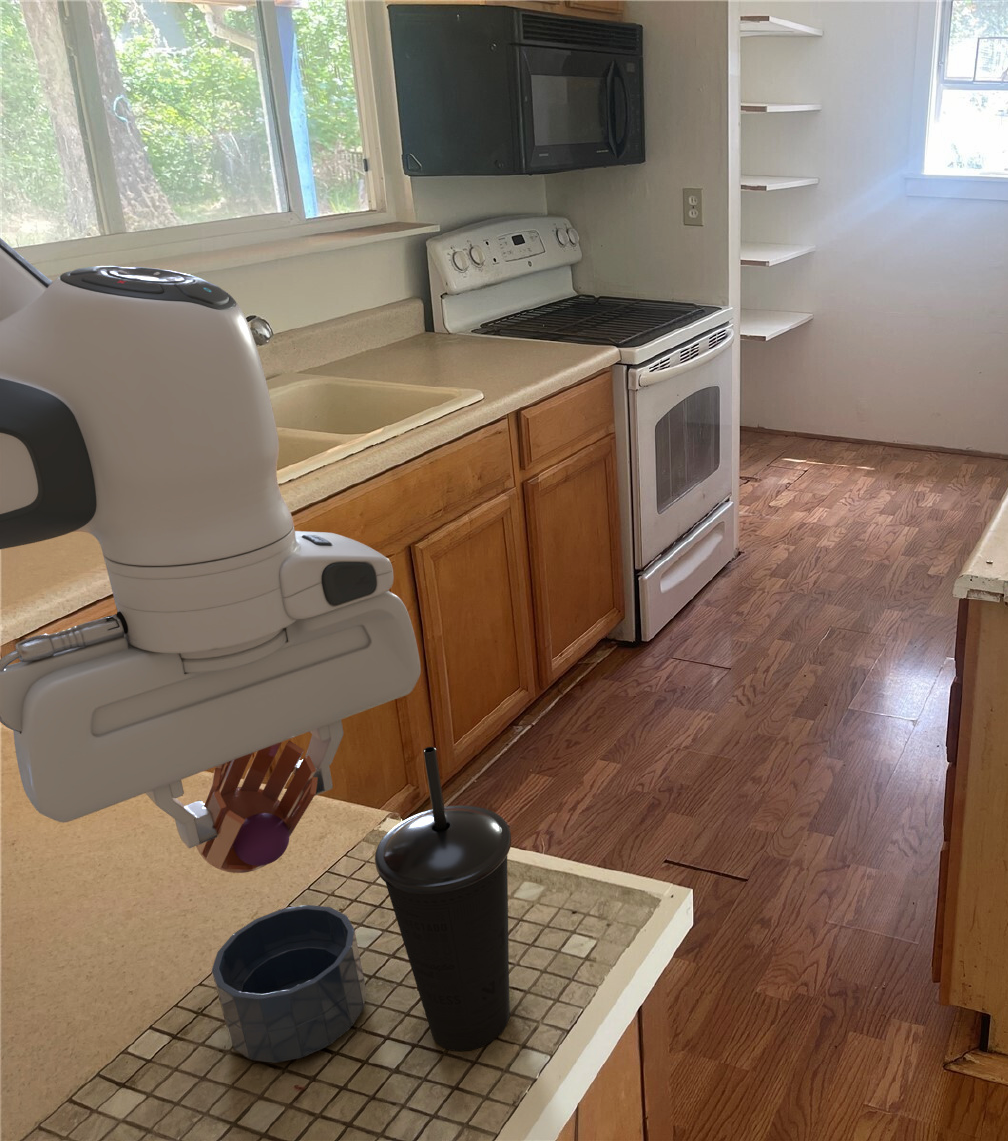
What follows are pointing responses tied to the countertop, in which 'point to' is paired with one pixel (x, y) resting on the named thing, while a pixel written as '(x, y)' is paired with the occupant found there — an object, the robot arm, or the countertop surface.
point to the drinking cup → (453, 913)
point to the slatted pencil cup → (255, 799)
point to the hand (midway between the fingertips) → (260, 813)
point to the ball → (262, 839)
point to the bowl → (290, 983)
